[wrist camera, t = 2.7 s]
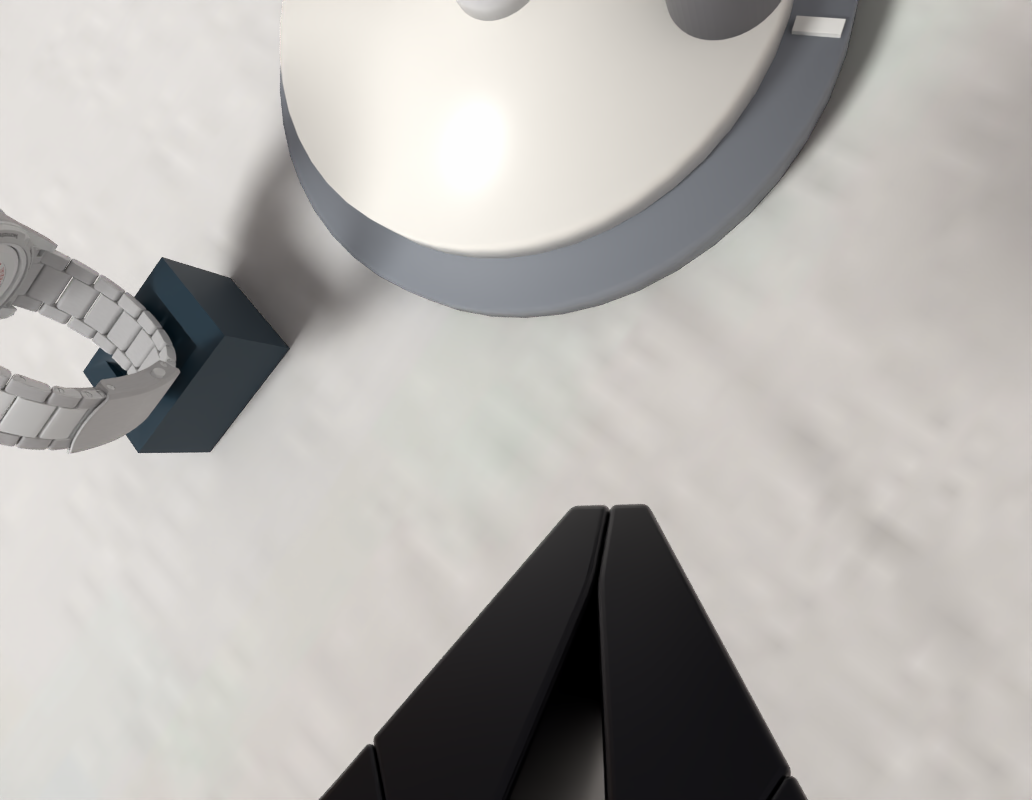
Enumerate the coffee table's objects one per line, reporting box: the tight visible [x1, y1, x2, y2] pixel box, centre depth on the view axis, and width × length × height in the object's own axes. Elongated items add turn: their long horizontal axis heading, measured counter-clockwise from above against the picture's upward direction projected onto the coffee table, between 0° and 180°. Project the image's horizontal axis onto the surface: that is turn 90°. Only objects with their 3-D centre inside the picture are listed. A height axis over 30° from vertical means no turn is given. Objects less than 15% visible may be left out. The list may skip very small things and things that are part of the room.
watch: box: [0, 209, 290, 453], centre depth 21 cm, size 6×8×11 cm
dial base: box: [280, 0, 858, 318], centre depth 21 cm, size 19×19×2 cm
